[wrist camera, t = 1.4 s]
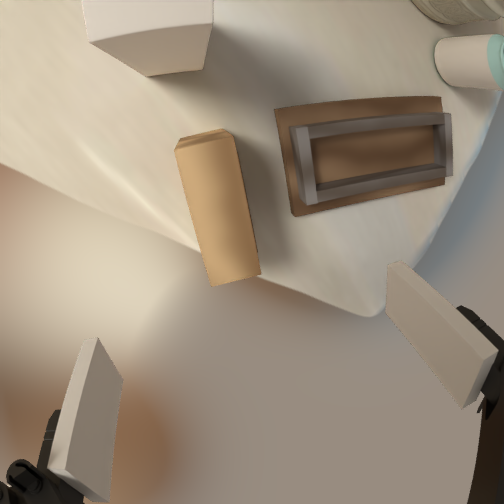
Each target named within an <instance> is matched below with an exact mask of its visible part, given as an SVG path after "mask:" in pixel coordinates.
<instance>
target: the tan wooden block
mask: <svg viewBox="0 0 504 504" xmlns="http://www.w3.org/2000/svg"><path fill="white" fill-rule="evenodd" d="M174 152H175V156H176V160H177V164H178V168H179V172H180V176H181V180H182V184H183V188H184V192H185V195H186V199H187V203H188V207H189V210H190V214H191V218H192V221H193V225H194V229H195V232H196V236H197V239H198V243H199V247H200V250H201V254H202V257H203V260H204V264H205V267H206V271H207V274H208V278H209V281H210V284H211V287H213V286H216V285H221V284H224V283H229V282H233V281H237V280H241V279H245V278H248V277H253V276H257V275H261V270H260V265H259V260H258V255H257V252H258V250H257V245H256V240H255V235H254V230H253V225H252V220H251V215H250V210H249V205H248V201H247V196H246V191H245V186H244V181H243V176H242V171H241V166H240V161H239V156H238V152H237V151H236V146H235V141H234V136H232V135H231V134H229V133H228V132H227V131H225V130H224V129H218V130H213V131H209V132H205V133H200V134H196V135H192V136H188V137H184V138H180V140H179V142H178V144H177V146H176V148H175V150H174Z"/></svg>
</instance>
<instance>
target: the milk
mask: <svg viewBox="0 0 504 504" xmlns="http://www.w3.org/2000/svg"><path fill="white" fill-rule="evenodd" d="M81 1H82V8H83V14H84V20H85V26H86V32H87V37H88V41H89V43H91V44H93V45H94V46H96V47H98V48H99V49H101V50H103V51H104V52H106V53H108V54H110V55H111V56H113V57H115V58H116V59H118V60H119V61H121V62H123V63H124V64H126V65H128V66H129V67H131V68H132V69H134V70H136V71H137V72H139V73H140V74H142V75H143V76H145V77H148V76H154V75H161V74H169V73H177V72H185V71H195V70H203V66H204V61H205V56H206V52H207V47H208V43H209V38H210V34H211V30H212V25H213V0H81Z"/></svg>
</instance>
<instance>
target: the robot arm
mask: <svg viewBox="0 0 504 504" xmlns="http://www.w3.org/2000/svg"><path fill="white" fill-rule="evenodd" d="M385 313H386V314H387V316H388V317H389V318H390V319H391V320H392V321H393V323H394V324H395V325H396V326H397V328H399V330H400V331H401V332H402V334H403V335H404V336H405V337H406V339H407V340H408V341H409V342H410V343H411V345H412V346H413V347H414V348H415V350H416V351H417V352H418V353H419V355H420V356H421V357H422V358H423V360H424V361H425V362H426V363H427V365H428V366H429V367H430V369H431V370H432V371H433V372H434V374H435V375H436V376H437V378H438V379H439V380H440V382H441V383H442V384H443V385H444V387H445V388H446V389H447V391H448V392H449V393H450V395H451V396H452V397H453V399H454V400H455V401H456V403H457V404H458V405H459V407H460V408H461V409H463V408H465V407H466V406H468V405H470V404H471V403H473V402H474V401H476V399H477V397H478V395H479V393H480V391H481V392H482V393H483V394H484V395H485V397H484V398H483V400H482V402H481V404H480V406H479V408H478V411H477V413H480V411H481V409H482V419H481V429H480V437H479V445H478V452H477V458H476V464H475V470H474V475H473V480H472V485H471V490H470V494H469V498H468V502H467V504H504V340H503V339H502V338H501V337H500V336H498V334H496V333H495V332H494V331H493V330H492V329H491V328H490V327H489V326H487V325H486V323H485V322H484V321H483V320H480V317H478V316H477V315H476V314H475V313H474V312H473V311H472V310H470V309H468V308H466V307H463V306H459V307H457V308H455V307H454V306H452V305H451V304H450V303H449V302H448V301H447V300H446V299H445V298H444V297H443V296H442V295H440V294H439V293H438V292H437V291H436V290H435V289H434V288H433V287H432V286H430V285H429V284H428V283H427V282H426V281H425V280H424V279H422V278H421V277H420V276H419V275H418V274H417V273H416V272H414V271H413V270H412V269H411V268H410V267H409V266H407V265H406V264H405V263H404V262H403V261H402V260H401V261H398V262H395V263H392V264H388V270H387V293H386V309H385ZM122 384H123V378H122V376H121V375H120V374H119V372H118V370H117V369H116V367H115V365H114V364H113V362H112V360H111V359H110V357H109V355H108V354H107V352H106V351H105V349H104V347H103V345H102V344H101V342H100V340H99V338H92V339H87V340H84V341H83V344H82V347H81V350H80V352H79V355H78V358H77V361H76V364H75V368H74V370H73V373H72V376H71V379H70V383H69V386H68V389H67V392H66V396H65V399H64V402H63V406H62V409H61V410H55V411H54V413H53V414H52V416H51V417H50V419H49V421H48V425H47V428H46V432H45V436H44V441H43V443H42V447H41V451H40V455H39V459H38V464H37V468H36V467H34V466H33V465H32V464H31V463H30V462H28V461H26V460H24V459H19V460H17V461H15V462H13V463H12V464H11V465H10V467H9V469H8V470H7V475H6V478H7V483H8V484H10V485H11V486H12V487H8V486H7V485H6V484H4V483H3V482H1V481H0V504H84V503H83V498H84V496H85V497H86V498H88V499H89V500H91V501H92V502H109V501H110V485H111V472H112V461H113V451H114V443H115V433H116V426H117V418H118V411H119V404H120V397H121V391H122Z"/></svg>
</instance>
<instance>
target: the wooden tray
mask: <svg viewBox="0 0 504 504" xmlns="http://www.w3.org/2000/svg"><path fill="white" fill-rule="evenodd" d="M274 111H275V116H276V122H277V127H278V133H279V139H280V145H281V151H282V157H283V163H284V169H285V175H286V181H287V188H288V194H289V201H290V207H291V213H292V214H293V215H294V216H295V217H297V216H302V215H306V214H310V213H315V212H319V211H323V210H328V209H332V208H337V207H341V206H346V205H350V204H355V203H359V202H364V201H368V200H373V199H378V198H382V197H387V196H392V195H396V194H401V193H406V192H410V191H415V190H420V189H425V188H430V187H435V186H440V185H445V177H449V176H453V146H452V123H451V114H449V113H443V112H442V102H441V97H438V96H407V97H382V98H366V99H353V100H342V101H332V102H323V103H314V104H306V105H299V106H292V107H285V108H279V109H274Z"/></svg>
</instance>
